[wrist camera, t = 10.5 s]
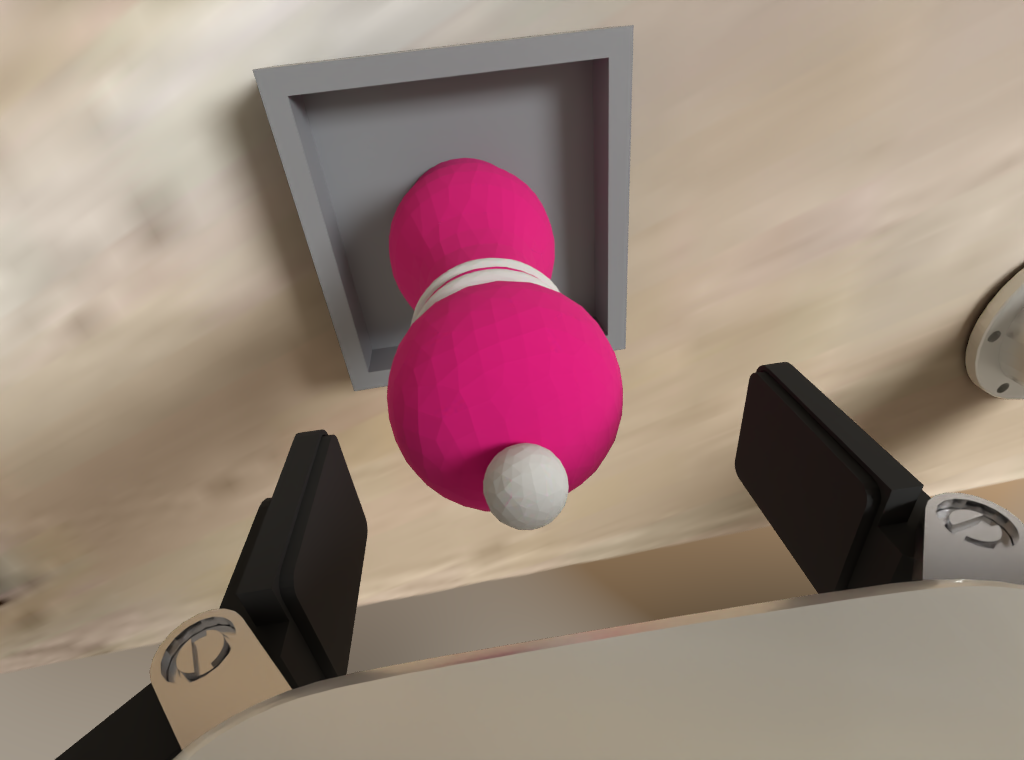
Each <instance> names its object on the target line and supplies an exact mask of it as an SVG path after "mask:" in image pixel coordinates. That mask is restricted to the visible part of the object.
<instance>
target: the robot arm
mask: <svg viewBox="0 0 1024 760" xmlns="http://www.w3.org/2000/svg"><path fill="white" fill-rule="evenodd" d="M965 364H966V369H967V373H968V375H969V377H970V379H971V380H972V382H973V383H974V384H975V385H977V386H978V387H979V388H980V389H982V390H984V391H985V392H987V393H989V394H990V395H992V396H994V397H998V398H1002V399H1007V400H1020V399H1024V268H1023V269H1022V270H1020V271H1019V272H1018V273H1017V274H1016V275H1015V276H1014V277H1013V278H1012V279H1010V280H1009V281H1008V282H1007V283H1006V284H1005V285H1004V286H1003V287H1002V288H1001V289H1000V291H999V292H998V293H997V294H996V295H995V296H994V298H993V299H992V300H991V301H990V302H989V304H988V305H987V307H986V308H985V310H984V311H983V313H982V314H981V316H980V317H979V319H978V320H977V322H976V324H975V327H974V329H973V331H972V333H971V335H970V338H969V342H968V345H967V349H966V361H965ZM735 469H736V473H737V475H738V477H739V479H740V480H741V482H742V483H743V485H744V486H745V488H746V489H747V491H748V492H749V494H750V495H751V496H752V498H753V499H754V501H755V502H756V504H757V505H758V507H759V508H760V510H761V511H762V512H763V514H764V515H765V517H766V518H767V520H768V521H769V523H770V524H771V525H772V527H773V528H774V530H775V531H776V533H777V534H778V536H779V537H780V539H781V540H782V541H783V543H784V544H785V546H786V547H787V549H788V550H789V551H790V553H791V554H792V556H793V557H794V559H795V560H796V562H797V563H798V565H799V566H800V568H801V569H802V570H803V572H804V573H805V575H806V576H807V578H808V579H809V581H810V582H811V584H812V585H813V587H814V588H815V589H816V591H817V592H818V594H814V595H808V596H802V597H796V598H789V599H783V600H777V601H771V602H764V603H758V604H752V605H746V606H739V607H733V608H727V609H721V610H714V611H708V612H702V613H696V614H690V615H684V616H678V617H672V618H666V619H660V620H654V621H648V622H641V623H635V624H629V625H624V626H617V627H612V628H605V629H600V630H593V631H587V632H581V633H576V634H569V635H563V636H557V637H551V638H546V639H540V640H535V641H528V642H522V643H516V644H511V645H505V646H499V647H493V648H487V649H481V650H476V651H470V652H464V653H458V654H453V655H447V656H441V657H435V658H430V659H425V660H419V661H414V662H409V663H403V664H398V665H393V666H387V667H382V668H377V669H372V670H366V671H361V672H356V673H352V674H347V675H346V673H347V667H348V660H349V653H350V647H351V641H352V634H353V627H354V620H355V614H356V607H357V601H358V594H359V587H360V581H361V574H362V567H363V561H364V554H365V547H366V541H367V522H366V518H365V515H364V512H363V509H362V507H361V504H360V501H359V498H358V495H357V493H356V490H355V487H354V484H353V481H352V479H351V476H350V473H349V470H348V467H347V465H346V462H345V459H344V456H343V453H342V451H341V448H340V445H339V442H338V439H337V437H336V436H335V435H328V434H327V432H326V431H325V430H316V431H309V432H302V433H298V434H296V436H295V437H294V440H293V443H292V446H291V448H290V451H289V454H288V456H287V459H286V462H285V464H284V467H283V470H282V472H281V475H280V478H279V480H278V483H277V486H276V488H275V491H274V494H273V496H272V498H266V499H265V500H264V501H262V503H261V505H260V507H259V509H258V512H257V514H256V517H255V519H254V522H253V524H252V527H251V529H250V532H249V534H248V537H247V540H246V542H245V545H244V547H243V550H242V552H241V555H240V557H239V560H238V562H237V565H236V567H235V570H234V573H233V575H232V578H231V580H230V583H229V585H228V588H227V590H226V593H225V595H224V598H223V601H222V603H221V606H220V608H219V609H213V610H209V611H206V612H203V613H200V614H197V615H196V616H194V617H192V618H190V619H189V620H187V621H185V622H184V623H182V624H181V625H180V626H179V627H177V628H176V629H175V630H174V631H173V632H171V633H170V634H169V636H168V637H167V638H166V639H165V640H164V641H163V643H162V644H161V645H160V646H159V648H158V650H157V652H156V654H155V656H154V657H153V660H152V664H151V668H150V678H151V683H150V684H149V685H148V686H146V687H145V688H144V689H143V690H142V691H140V692H139V693H138V694H136V695H135V696H134V697H133V698H131V699H130V700H129V701H128V702H126V703H125V704H124V705H123V706H121V707H120V708H119V709H118V710H116V711H115V712H114V713H113V714H111V715H110V716H109V717H108V718H106V719H105V720H104V721H103V722H101V723H100V724H99V725H98V726H96V727H95V728H94V729H93V730H91V731H90V732H89V733H88V734H86V735H85V736H84V737H83V738H81V739H80V740H79V741H78V742H76V743H75V744H74V745H73V746H71V747H70V748H69V749H68V750H66V751H65V752H64V753H63V754H61V755H60V756H59V757H58V758H56V759H55V760H1024V524H1023V523H1022V522H1021V521H1020V520H1019V519H1018V518H1017V517H1016V516H1014V515H1013V514H1011V513H1010V512H1009V511H1007V510H1006V509H1004V508H1002V507H1001V506H999V505H997V504H995V503H993V502H991V501H988V500H985V499H982V498H979V497H977V496H973V495H968V494H962V493H943V494H939V495H935V496H934V497H932V498H930V497H929V496H928V495H927V494H926V493H925V492H924V491H923V490H922V488H923V486H924V485H923V484H922V483H921V482H920V481H918V480H917V479H916V478H915V477H914V476H913V475H912V474H911V473H910V472H909V471H908V470H906V469H905V468H904V467H903V466H902V465H901V464H900V463H899V462H898V461H897V460H895V459H894V458H893V457H892V456H891V455H890V454H889V453H888V452H887V451H886V450H884V449H883V448H882V447H881V446H880V445H879V444H878V443H877V442H876V441H875V440H874V439H872V438H871V437H870V436H869V435H868V434H867V433H866V432H865V431H864V430H863V429H861V428H860V427H859V426H858V425H857V424H856V423H855V422H854V421H853V420H852V419H850V418H849V417H848V416H847V415H846V414H845V413H844V412H843V411H842V410H841V409H840V408H838V407H837V406H836V405H835V404H834V403H833V402H832V401H831V400H830V399H829V398H827V397H826V396H825V395H824V394H823V393H822V392H821V391H820V390H819V389H818V388H816V387H815V386H814V385H813V384H812V383H811V382H810V381H809V380H808V379H807V378H806V377H804V376H803V375H802V374H801V373H800V372H799V371H798V370H797V369H796V368H795V367H793V366H792V365H791V364H790V363H788V362H782V363H775V364H768V365H762V366H760V367H759V368H758V369H757V371H756V373H753V374H752V375H751V376H750V379H749V384H748V390H747V396H746V401H745V407H744V413H743V419H742V424H741V430H740V436H739V441H738V447H737V453H736V459H735Z"/></svg>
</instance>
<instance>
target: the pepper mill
mask: <svg viewBox="0 0 1024 760" xmlns="http://www.w3.org/2000/svg"><path fill="white" fill-rule="evenodd" d="M389 256H390V262H391V267H392V272H393V276H394V278H395V281H396V283H397V285H398V288H399V290H400V291H401V293H402V295H403V296H404V298H405V299H406V301H407V302H408V303H409V305H410V306H411V307H412V308H413V310H414V314H413V318H412V322H411V327H410V328H409V330H408V331H407V333H406V335H405V336H404V338H403V339H402V341H401V342H400V344H399V346H398V348H397V351H396V354H395V356H394V359H393V362H392V366H391V370H390V374H389V380H388V390H387V402H388V412H389V420H390V423H391V427H392V430H393V434H394V437H395V440H396V442H397V444H398V446H399V448H400V450H401V452H402V454H403V456H404V458H405V460H406V462H407V463H408V464H409V465H410V467H411V468H412V469H413V470H414V471H415V472H416V474H417V475H418V476H419V477H420V478H421V479H422V480H423V481H424V482H425V483H426V485H427V486H429V487H430V488H432V489H433V490H434V491H436V492H437V493H439V494H440V495H442V496H443V497H445V498H447V499H449V500H451V501H454V502H456V503H458V504H460V505H463V506H466V507H470V508H474V509H478V510H482V511H491V513H492V514H493V515H494V516H495V517H496V518H497V519H498V520H499V521H500V522H502V523H504V524H506V525H508V526H510V527H513V528H515V529H518V530H533V529H537V528H540V527H543V526H545V525H547V524H549V523H550V522H552V521H553V520H554V519H555V517H556V516H557V515H558V514H559V513H560V512H561V510H562V509H563V507H564V506H565V503H566V499H567V495H568V493H569V492H570V491H572V490H573V489H575V488H576V487H578V486H579V485H581V484H582V483H583V482H584V481H585V480H586V479H588V478H589V477H590V476H591V475H592V474H593V473H594V472H595V471H596V470H597V468H598V467H599V466H600V464H601V463H602V461H603V460H604V458H605V457H606V455H607V453H608V452H609V450H610V448H611V446H612V444H613V443H614V441H615V438H616V434H617V431H618V427H619V424H620V420H621V416H622V405H623V387H622V380H621V373H620V368H619V365H618V362H617V359H616V356H615V353H614V351H613V349H612V347H611V345H610V343H609V341H608V339H607V338H606V336H605V334H604V333H603V331H602V329H601V328H600V326H599V324H598V323H597V322H596V321H595V320H594V319H593V318H592V317H591V315H590V314H589V313H588V312H587V311H586V310H585V309H584V308H583V307H582V306H581V305H579V304H577V303H576V302H574V301H573V300H571V299H570V298H568V297H566V296H565V295H563V294H562V293H560V291H559V290H558V288H557V287H556V286H555V285H554V283H553V282H552V281H551V276H552V271H553V266H554V260H555V242H554V236H553V232H552V227H551V224H550V221H549V218H548V216H547V214H546V211H545V209H544V207H543V205H542V203H541V202H540V200H539V199H538V197H537V196H536V194H535V193H534V192H533V191H532V190H531V189H530V188H529V186H528V185H527V184H525V183H524V182H523V181H522V180H520V179H519V178H518V177H516V176H515V175H513V174H511V173H509V172H507V171H505V170H503V169H500V168H498V167H497V166H495V165H493V164H491V163H488V162H486V161H483V160H479V159H474V158H458V159H451V160H448V161H445V162H441V163H439V164H438V165H436V166H434V167H432V168H431V169H429V170H428V171H427V172H425V173H424V174H423V175H422V176H421V177H420V178H419V179H418V180H417V182H416V183H415V184H414V186H413V187H412V188H411V189H410V190H409V191H408V192H407V194H406V195H405V196H404V197H403V199H402V201H401V202H400V204H399V205H398V207H397V210H396V212H395V215H394V217H393V220H392V222H391V228H390V234H389Z"/></svg>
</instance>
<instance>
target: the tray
mask: <svg viewBox="0 0 1024 760" xmlns="http://www.w3.org/2000/svg"><path fill="white" fill-rule="evenodd" d="M632 63H633V25H632V26H618V27H606V28H598V29H589V30H581V31H572V32H563V33H555V34H546V35H538V36H529V37H520V38H512V39H503V40H495V41H486V42H478V43H469V44H460V45H452V46H443V47H435V48H426V49H417V50H409V51H400V52H392V53H383V54H375V55H366V56H357V57H349V58H340V59H332V60H323V61H315V62H306V63H297V64H289V65H280V66H272V67H266V68H260V69H254V70H253V73H254V76H255V79H256V82H257V86H258V89H259V92H260V95H261V98H262V101H263V104H264V108H265V111H266V114H267V117H268V120H269V123H270V127H271V130H272V133H273V136H274V139H275V142H276V146H277V149H278V152H279V155H280V158H281V161H282V164H283V168H284V171H285V174H286V177H287V180H288V183H289V187H290V190H291V193H292V196H293V199H294V202H295V205H296V209H297V212H298V215H299V218H300V221H301V224H302V228H303V231H304V234H305V237H306V240H307V243H308V246H309V250H310V253H311V256H312V259H313V262H314V265H315V269H316V272H317V275H318V278H319V281H320V284H321V288H322V291H323V294H324V297H325V300H326V303H327V306H328V310H329V313H330V316H331V319H332V322H333V325H334V329H335V332H336V335H337V338H338V341H339V344H340V347H341V351H342V354H343V357H344V360H345V363H346V366H347V370H348V373H349V376H350V379H351V382H352V385H353V388H354V391H358V390H365V389H371V388H377V387H384V386H388V380H389V374H390V370H391V366H392V362H393V359H394V356H395V354H396V351H397V348H398V346H399V344H400V342H401V341H402V339H403V338H404V336H405V335H406V333H407V331H408V330H409V328H410V327H411V322H412V318H413V314H414V310H413V308H412V307H411V306H410V305H409V303H408V302H407V301H406V299H405V298H404V296H403V295H402V293H401V291H400V290H399V288H398V285H397V283H396V281H395V278H394V276H393V272H392V267H391V262H390V256H389V234H390V228H391V222H392V220H393V217H394V215H395V212H396V210H397V207H398V205H399V204H400V202H401V201H402V199H403V197H404V196H405V195H406V194H407V192H408V191H409V190H410V189H411V188H412V187H413V186H414V184H415V183H416V182H417V180H418V179H419V178H420V177H421V176H422V175H423V174H424V173H425V172H427V171H428V170H429V169H431V168H432V167H434V166H436V165H438V164H439V163H441V162H445V161H448V160H451V159H458V158H474V159H479V160H483V161H486V162H488V163H491V164H493V165H495V166H497V167H498V168H500V169H503V170H505V171H507V172H509V173H511V174H513V175H515V176H516V177H518V178H519V179H520V180H522V181H523V182H524V183H525V184H527V185H528V186H529V188H530V189H531V190H532V191H533V192H534V193H535V194H536V196H537V197H538V199H539V200H540V202H541V203H542V205H543V207H544V209H545V211H546V214H547V216H548V218H549V221H550V224H551V227H552V232H553V236H554V242H555V260H554V266H553V271H552V276H551V281H552V282H553V283H554V285H555V286H556V287H557V288H558V290H559V291H560V293H562V294H563V295H565V296H566V297H568V298H570V299H571V300H573V301H574V302H576V303H577V304H579V305H581V306H582V307H583V308H584V309H585V310H586V311H587V312H588V313H589V314H590V315H591V317H592V318H593V319H594V320H595V321H596V322H597V323H598V324H599V326H600V328H601V329H602V331H603V333H604V334H605V336H606V338H607V339H608V341H609V343H610V345H611V347H612V349H613V351H614V350H621V349H625V344H626V304H627V264H628V224H629V184H630V144H631V103H632Z"/></svg>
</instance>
